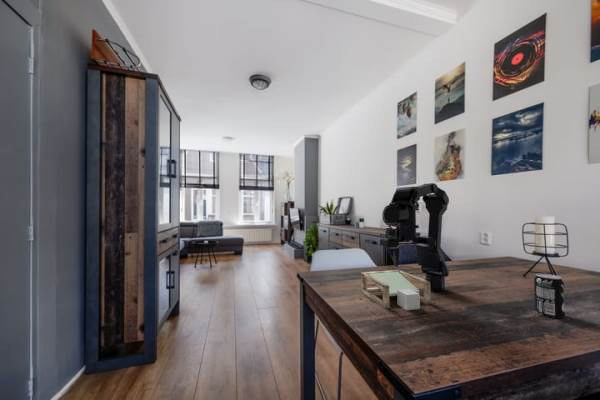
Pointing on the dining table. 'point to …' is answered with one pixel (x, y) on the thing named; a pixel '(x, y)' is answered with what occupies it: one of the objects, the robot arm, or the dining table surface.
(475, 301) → the dining table surface
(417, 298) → the plain light gray cube
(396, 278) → the trapdoor
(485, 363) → the dining table surface
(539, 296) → the beverage can
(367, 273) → the trapdoor frame
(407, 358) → the dining table surface
